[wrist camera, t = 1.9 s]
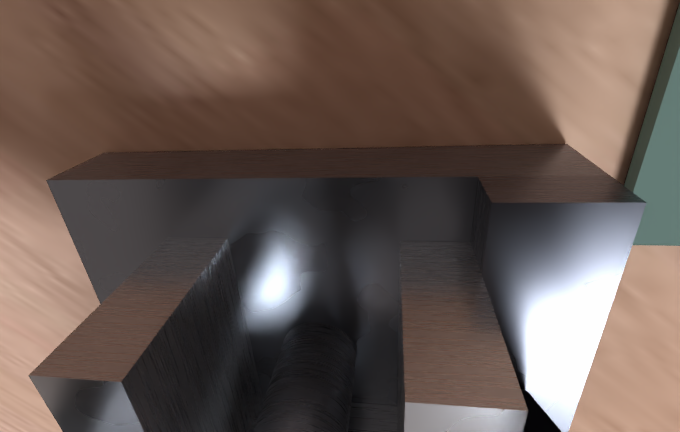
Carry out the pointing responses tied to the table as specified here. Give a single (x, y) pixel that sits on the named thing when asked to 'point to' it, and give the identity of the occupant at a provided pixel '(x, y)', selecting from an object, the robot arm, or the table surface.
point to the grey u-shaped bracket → (238, 360)
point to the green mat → (660, 154)
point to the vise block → (370, 255)
